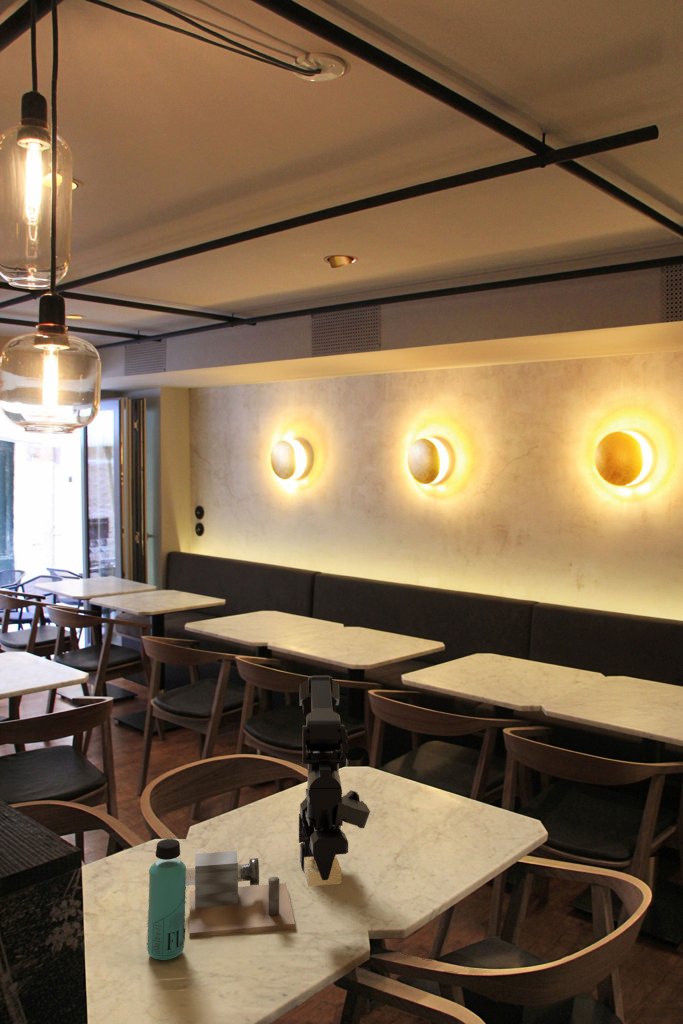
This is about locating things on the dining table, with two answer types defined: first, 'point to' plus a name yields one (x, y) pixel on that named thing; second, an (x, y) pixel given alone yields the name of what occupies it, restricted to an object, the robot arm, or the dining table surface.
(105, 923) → the dining table surface
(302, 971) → the dining table surface
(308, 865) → the frame
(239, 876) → the shaft
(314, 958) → the dining table surface
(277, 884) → the shaft stand
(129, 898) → the dining table surface
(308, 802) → the robot arm
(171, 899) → the beverage bottle
